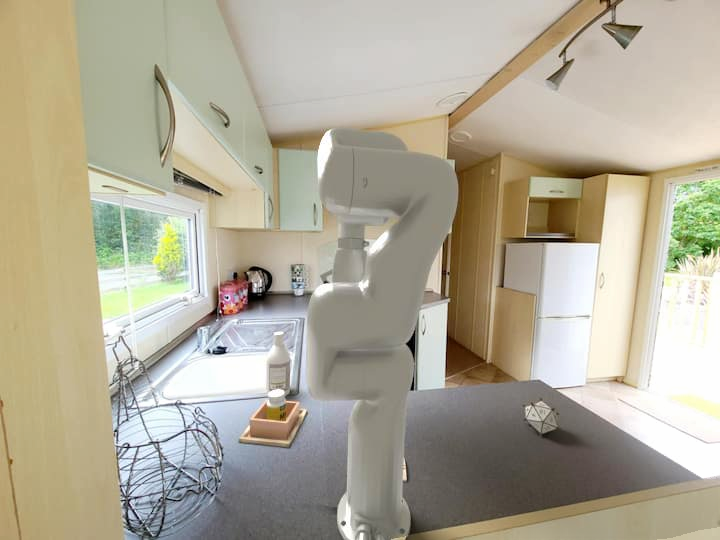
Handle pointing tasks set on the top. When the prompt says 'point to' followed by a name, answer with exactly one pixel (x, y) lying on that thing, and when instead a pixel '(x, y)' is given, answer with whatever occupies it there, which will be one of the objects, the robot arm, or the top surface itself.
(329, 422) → the top surface
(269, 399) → the supplement bottle
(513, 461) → the top surface
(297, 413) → the peach square bin
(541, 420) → the game die
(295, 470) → the top surface
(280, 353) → the bath foam
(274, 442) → the tray
